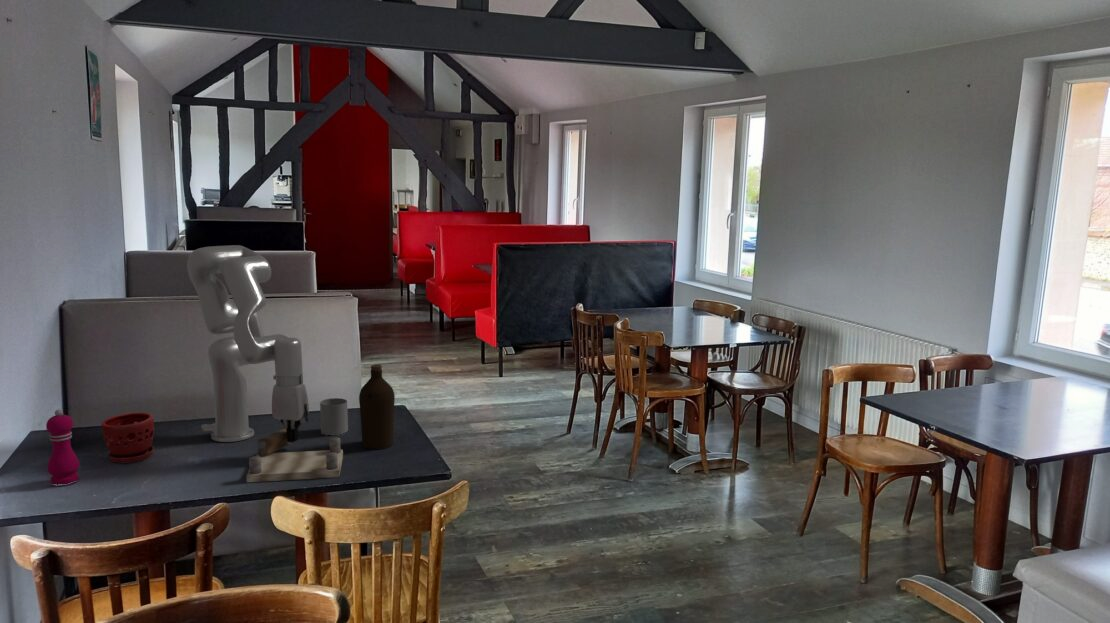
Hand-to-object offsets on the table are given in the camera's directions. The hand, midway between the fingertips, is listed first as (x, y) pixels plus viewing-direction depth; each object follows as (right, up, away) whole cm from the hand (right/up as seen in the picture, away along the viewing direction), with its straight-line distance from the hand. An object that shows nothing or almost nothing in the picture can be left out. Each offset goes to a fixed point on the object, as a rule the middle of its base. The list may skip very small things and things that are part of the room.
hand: (292, 440), depth 231 cm
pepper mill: (-53, -7, -23) cm, 58 cm away
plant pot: (-46, -5, -4) cm, 46 cm away
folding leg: (-4, -2, -1) cm, 5 cm away
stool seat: (+5, -6, -11) cm, 13 cm away
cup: (+6, -1, +23) cm, 23 cm away
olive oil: (+23, -3, +11) cm, 25 cm away
